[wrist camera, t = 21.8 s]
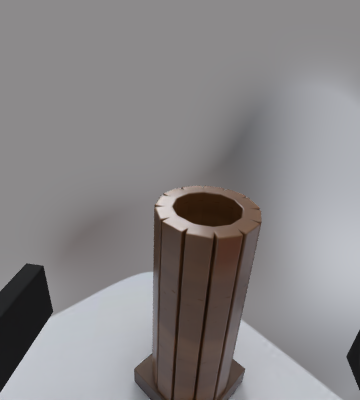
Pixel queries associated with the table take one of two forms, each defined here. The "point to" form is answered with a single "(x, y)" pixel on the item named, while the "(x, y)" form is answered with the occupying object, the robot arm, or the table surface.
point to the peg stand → (148, 385)
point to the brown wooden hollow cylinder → (199, 287)
